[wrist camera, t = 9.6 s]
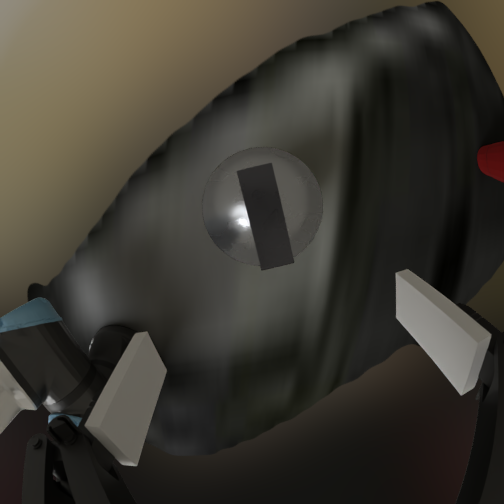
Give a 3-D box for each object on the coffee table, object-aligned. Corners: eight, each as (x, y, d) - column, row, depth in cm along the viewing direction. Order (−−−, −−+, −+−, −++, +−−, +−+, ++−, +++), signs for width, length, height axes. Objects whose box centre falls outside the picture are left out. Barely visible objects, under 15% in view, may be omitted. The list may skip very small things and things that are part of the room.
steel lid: (221, 273, 33) (214, 301, 26) (190, 164, 29) (173, 164, 22) (328, 247, 32) (349, 269, 25) (306, 137, 28) (323, 128, 21)
